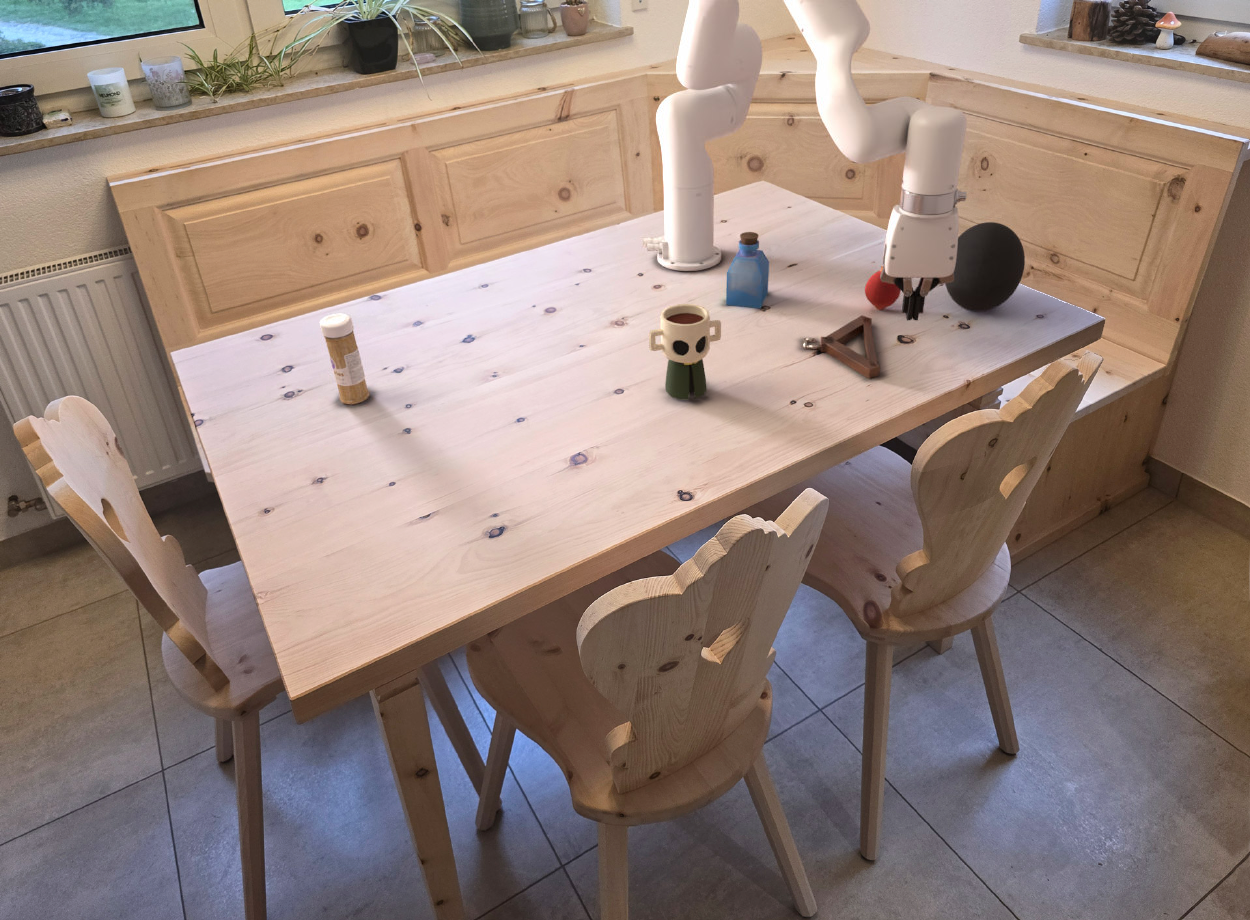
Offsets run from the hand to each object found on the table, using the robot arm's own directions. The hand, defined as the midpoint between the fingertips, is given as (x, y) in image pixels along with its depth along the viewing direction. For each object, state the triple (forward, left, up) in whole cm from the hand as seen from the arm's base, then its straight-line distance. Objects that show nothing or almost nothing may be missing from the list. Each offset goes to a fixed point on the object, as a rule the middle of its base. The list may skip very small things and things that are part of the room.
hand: (911, 316), depth 138 cm
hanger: (-10, 0, -6) cm, 12 cm away
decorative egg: (+13, +16, -6) cm, 22 cm away
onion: (-3, +15, -6) cm, 17 cm away
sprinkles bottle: (-85, -20, -6) cm, 87 cm away
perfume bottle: (-26, +18, -6) cm, 32 cm away
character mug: (-34, -15, -6) cm, 37 cm away
